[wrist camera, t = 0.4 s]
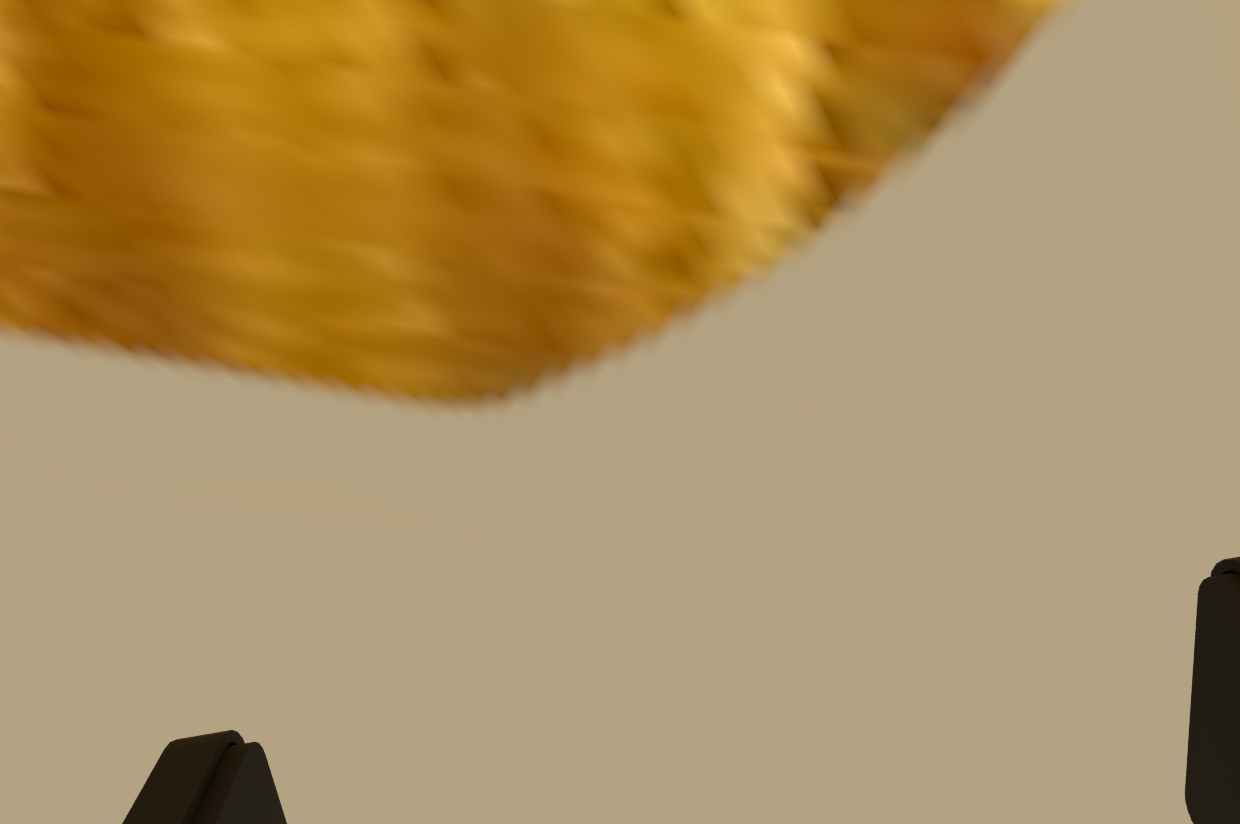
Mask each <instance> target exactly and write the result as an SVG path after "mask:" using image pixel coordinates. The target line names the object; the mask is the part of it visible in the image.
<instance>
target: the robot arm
mask: <svg viewBox="0 0 1240 824" xmlns="http://www.w3.org/2000/svg"><path fill="white" fill-rule="evenodd" d="M1190 710H1191V711H1190V724H1189V739H1188V755H1187V770H1186V784H1185V801H1186V805H1187V809H1188V812H1189V815H1190V817H1191V820H1192V822H1193V823H1194V824H1240V557H1236V558H1230V559H1224V560H1222V561H1220V562H1218V563H1217V564H1216V565H1215V567H1214V569H1213V570H1212V572H1211V576H1210V577H1208V578H1206V579H1204V580H1203V581H1202V583H1201V585H1200V586H1199V591H1198V602H1197V617H1196V632H1195V647H1194V664H1193V679H1192V694H1191V708H1190ZM122 824H287V823H286V819H285V816H284V813H283V810H282V806H281V803H280V800H279V797H278V794H277V791H276V787H275V784H274V781H273V778H272V775H271V771H270V768H269V765H268V762H267V758H266V755H265V753H264V750H263V748H262V747H261V745H260V744H259V743H257V742H251V743H244V740H243V738H242V737H241V736H240V734H239V733H238V732H236V731H234V730H230V731H223V732H218V733H212V734H206V735H200V736H194V737H188V738H183V739H177V740H174V741H172V742H170V743H169V744H168V745H167V747H166V748H165V749H164V751H163V753H162V754H161V756H160V758H159V760H158V762H157V763H156V765H155V767H154V769H153V770H152V772H151V774H150V776H149V777H148V779H147V781H146V783H145V785H144V787H143V788H142V790H141V792H140V793H139V795H138V797H137V799H136V800H135V802H134V804H133V806H132V808H131V809H130V811H129V813H128V815H127V816H126V818H125V820H124V822H123V823H122Z"/></svg>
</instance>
